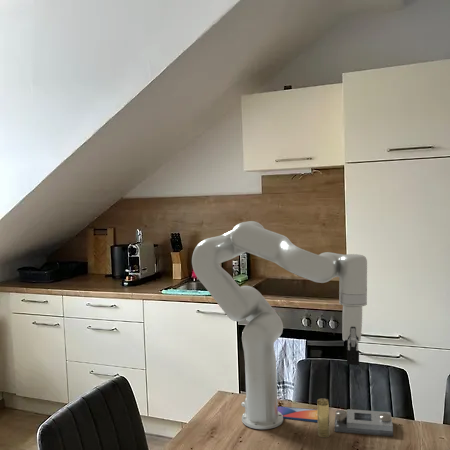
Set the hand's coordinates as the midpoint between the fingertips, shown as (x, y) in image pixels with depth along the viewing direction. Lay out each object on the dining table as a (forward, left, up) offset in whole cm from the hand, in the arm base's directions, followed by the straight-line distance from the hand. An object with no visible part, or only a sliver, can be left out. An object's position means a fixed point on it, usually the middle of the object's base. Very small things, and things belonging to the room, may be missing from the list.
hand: (352, 358), depth 140 cm
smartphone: (-19, -4, -23) cm, 30 cm away
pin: (-5, -7, -22) cm, 24 cm away
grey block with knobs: (-1, +5, -22) cm, 23 cm away
